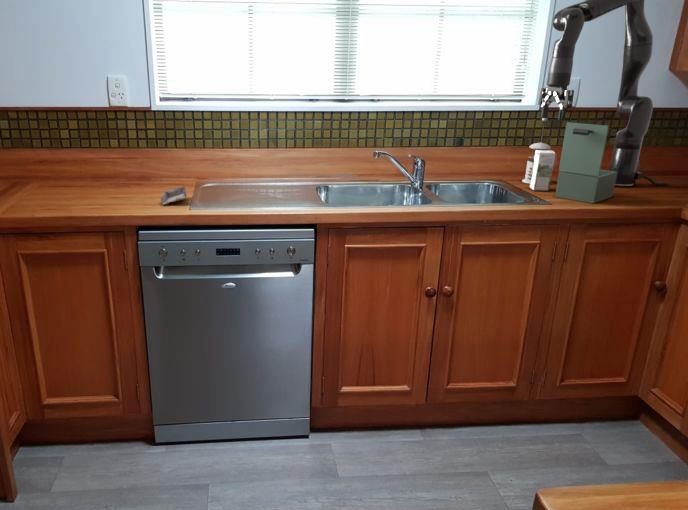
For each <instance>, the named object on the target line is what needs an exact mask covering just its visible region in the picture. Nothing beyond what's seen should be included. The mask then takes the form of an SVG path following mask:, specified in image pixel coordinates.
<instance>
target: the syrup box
mask: <svg viewBox="0 0 688 510" xmlns="http://www.w3.org/2000/svg"><path fill="white" fill-rule="evenodd" d="M555 154H556V155H557V153H556V152H555V151H554V150H551V149H548V150H538V149H535V152H534V156H535V157H534V159H533V160H534V164H533V170H532V171H531V172H532V176H531V182H530V184H529V188H530V189H531V190H532V191H534V192H535V191H538V192H549V191H550V188H551V187H550V186H551V182H552V175H553V170H554V167H553V166H554V164H555V163H554V160H556V159H555V158H556V157H555Z"/></svg>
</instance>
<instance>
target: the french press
mask: <svg viewBox="0 0 688 510" xmlns="http://www.w3.org/2000/svg"><path fill="white" fill-rule="evenodd" d="M541 121H543V123H545V121H548V117H547V118H541ZM542 125H543V126H542V129H544V127H545V124H542ZM543 133H544V130H542V132H541V135H543ZM540 139H541V140H540V142H535V143H532V144H531V145H529V147H528V148H529V149H532V150H551V149H552V147H551V146H550V145H549V144H547V143H544V142H542V140H543V136H541V137H540ZM534 157H535V155H530V156H528V159H527V162H526V167H525V174H524V178H523V179H522V180H521V182H522V183H524V184H529V185H530V182H531V176H532V170H533V164H534ZM557 159H558V158H557V153H556V154H555V159H554V165H553V168H554V167H555V165H556V164H557Z"/></svg>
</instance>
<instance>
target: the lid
mask: <svg viewBox="0 0 688 510" xmlns="http://www.w3.org/2000/svg"><path fill="white" fill-rule="evenodd" d="M609 127H610V126H609V125H605V124H604V125H603V124H592V123H580V122H569V121H567V122H566V125H565V130H564V136H563V142H562V147H561V148H562V149H561V155H560V161H559V167H558V171H559V172H561V171H564V172H571V173H577V174H584V175H591V176H599V175H600V170H602V165H603V158H604V153H605V147H606V142H607V138H608V133H609Z"/></svg>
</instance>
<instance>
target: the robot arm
mask: <svg viewBox="0 0 688 510" xmlns="http://www.w3.org/2000/svg"><path fill="white" fill-rule="evenodd" d="M645 1H646V0H584V1H581V2H579V3H575V4H572V5H569V6H566V7H564V8H562V9H561V8H560V10H558V11H557V12H556V13H555V14H554V16H553V18H552V21H551V22H552V27H553V29H554V30H555V31H558V32H562V35H561V37H559V38H558V39H556V40H555V41H554V43H553V45H552V46H553V47H552V51H551V59H550V61H549V66H548V74H547V78H546V79H547V80H546V86H548V87H541V88H540V90H539V91H540V92H539V97H538V102H537V104H538V106H540V107H541V112H540V118H541V119H542V118H547V119H548V115H549V110H550V109H549V107H550V105H551V104H552V103H553V102H554V103H556V104H557V105H558V107H559V111H558V117H557V121H561V122H563V121H565V119H566V115H567V110H568V109H572V107H573V103H574V94H575V90H574V89H568V87H569V86H570V84H571V78H572V73H573V68H574V67H573V66H574V56H575V50H576V44H577V43H578V40H579V38H580V36H581V33H582V31H583V28H584V25H585V23H587V22H591V21H594V20H596V19H598V18H601V17H602V16H604V15H606V14H610V13H611V12H613V11H615V10H617V9H619V8H622V7H624V9H625V10H624V11H625V12H624V13H625V14H624V15H625V16H624V17H625V18H624V39H623V47H622V49H623V50H622V66H621V67H622V68H621V77H620V78H621V79H620V85H619V92H618V98H617V101H616V102H617V103H616V115H617V117H618V118H619V119H620V120H622V121H627V125H626V127H625V128H623V129H621V130H619V131H617V132H616V135H615V140H614V145H613V150H612V155H611V160H610V164H609V168H608V169H609V170H608V171H614V172H618V173H617V177H616V182H615V187H621V188H629V187H633V186H635V185H636V181H637V180H642V179H645V180H648V181H649V182H650V183H651V184H652V185H654V186H668V184H669V183H668V182H656V181H655V180H653V179H652V178H650V177H649V176H646V175H643V172H640V171H639V168H640V163H641V161H640V160H639V158H640V155H641V149H642V145H643V141H644V137H645V135H646V134H647V132H648V130H649V127H650V122H651V118H652V114H653V111H654V103H653V100H652V98H650V97H649V96H647V95H646V96H645V95H638V89H639V83H640V79H641V78H642V75H643V73H644V72H645V70H646V68H647V66H648V65H649V63H650V61H651V59H652V55H653V48H654V47H653V46H654V45H653V44H654V35H653V32H652V31H653V30H652V29H651V26H650V24H649V22H648V19H647V18H646V14H645Z"/></svg>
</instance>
